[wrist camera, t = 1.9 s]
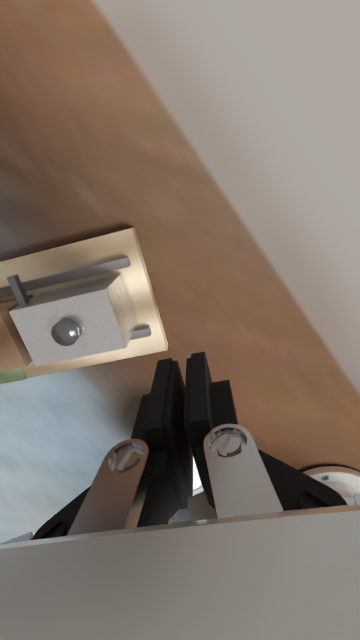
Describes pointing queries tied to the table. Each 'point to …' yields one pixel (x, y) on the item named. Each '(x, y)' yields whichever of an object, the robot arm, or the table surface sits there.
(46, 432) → the table surface
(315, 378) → the table surface
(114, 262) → the gauge bed
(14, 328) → the walnut block
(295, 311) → the table surface
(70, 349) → the knobbed grey slider
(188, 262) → the table surface
